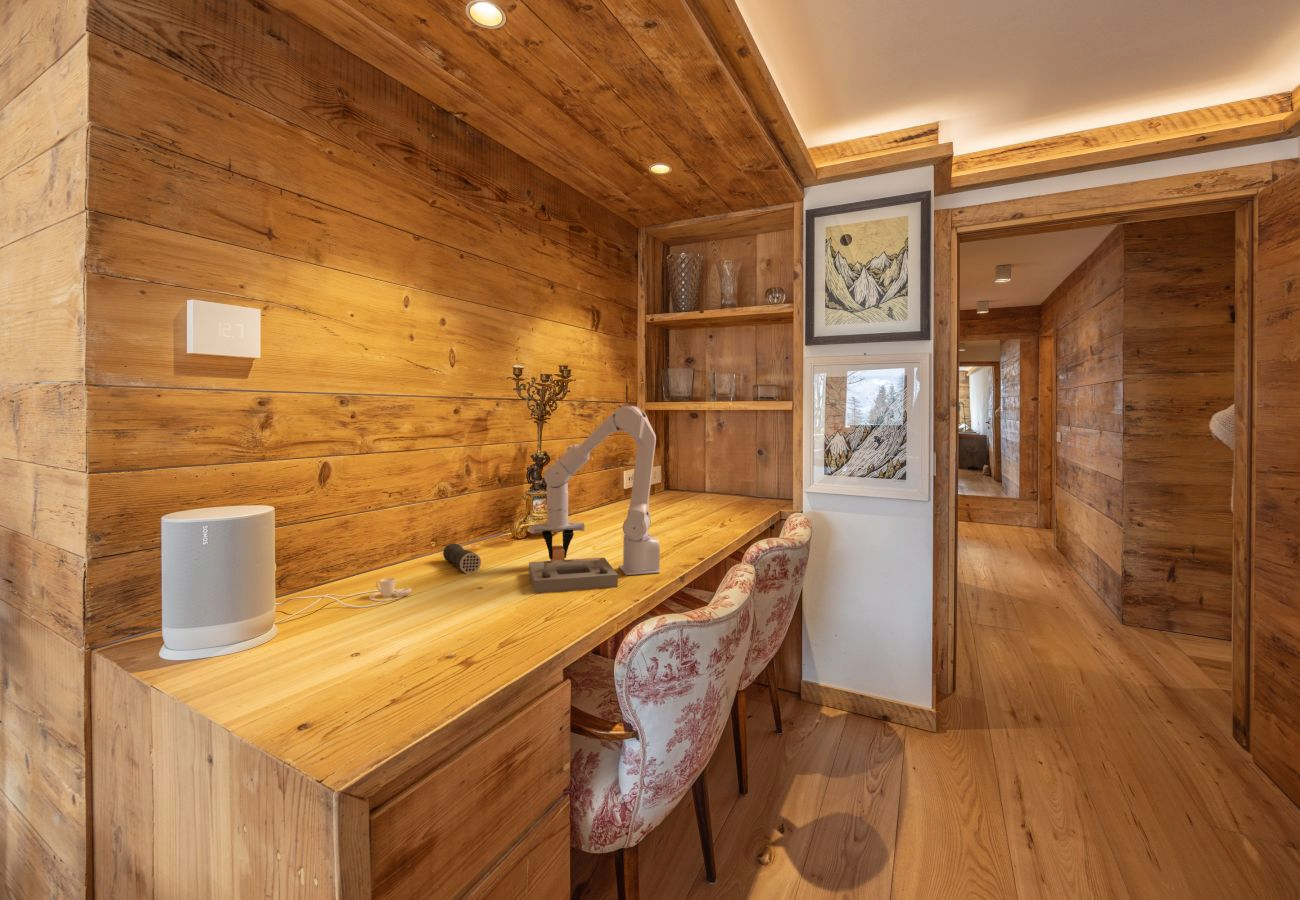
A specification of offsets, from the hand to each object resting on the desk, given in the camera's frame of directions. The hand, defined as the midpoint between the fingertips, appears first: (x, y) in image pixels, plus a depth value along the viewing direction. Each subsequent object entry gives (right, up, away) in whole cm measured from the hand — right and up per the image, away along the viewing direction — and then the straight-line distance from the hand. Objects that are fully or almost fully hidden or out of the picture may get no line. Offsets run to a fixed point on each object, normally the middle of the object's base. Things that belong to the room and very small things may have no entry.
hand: (557, 557), depth 155 cm
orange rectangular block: (0, -2, 0) cm, 2 cm away
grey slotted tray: (+6, -3, -12) cm, 13 cm away
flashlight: (-26, -3, -1) cm, 26 cm away
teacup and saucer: (-33, -5, -28) cm, 43 cm away
